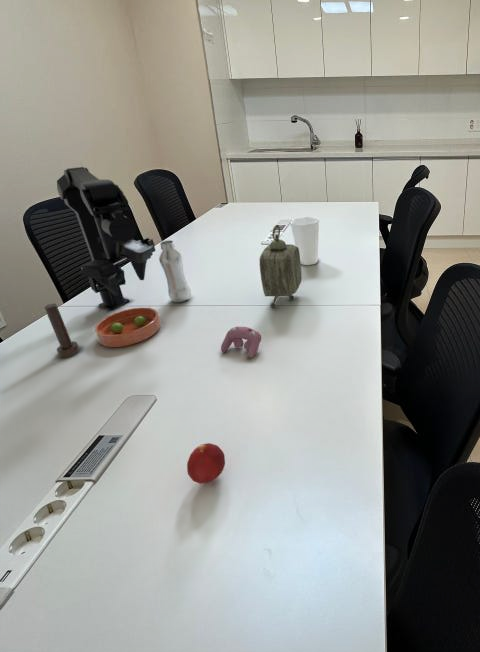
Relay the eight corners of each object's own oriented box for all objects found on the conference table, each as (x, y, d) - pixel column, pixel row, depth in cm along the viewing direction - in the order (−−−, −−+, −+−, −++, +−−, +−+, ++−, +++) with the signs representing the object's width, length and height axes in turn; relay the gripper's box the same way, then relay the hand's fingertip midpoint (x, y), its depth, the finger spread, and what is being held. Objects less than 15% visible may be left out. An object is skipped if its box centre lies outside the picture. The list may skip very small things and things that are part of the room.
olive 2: (133, 327, 111) (130, 318, 110) (142, 322, 113) (140, 313, 112) (139, 329, 110) (137, 320, 108) (149, 324, 112) (146, 315, 111)
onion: (198, 465, 68) (189, 431, 65) (232, 462, 69) (224, 429, 66) (187, 496, 63) (176, 461, 60) (223, 492, 63) (214, 457, 60)
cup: (327, 260, 156) (324, 219, 149) (311, 269, 148) (306, 226, 141) (306, 255, 161) (302, 215, 154) (289, 263, 154) (284, 222, 147)
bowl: (87, 340, 106) (82, 328, 104) (139, 315, 119) (135, 303, 117) (122, 354, 100) (117, 341, 98) (172, 325, 112) (169, 313, 111)
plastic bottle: (184, 305, 124) (169, 246, 116) (165, 303, 125) (149, 245, 117) (196, 296, 129) (183, 239, 121) (178, 294, 131) (164, 238, 123)
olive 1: (109, 334, 108) (106, 325, 107) (120, 328, 110) (117, 319, 109) (116, 336, 106) (113, 327, 105) (126, 331, 109) (123, 322, 108)
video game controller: (261, 356, 100) (265, 329, 100) (251, 359, 96) (254, 331, 96) (230, 349, 103) (233, 323, 103) (218, 352, 99) (222, 324, 99)
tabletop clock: (277, 290, 132) (268, 219, 122) (304, 289, 132) (296, 218, 122) (266, 311, 119) (254, 233, 109) (295, 310, 118) (286, 233, 108)
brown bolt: (55, 355, 100) (35, 308, 95) (73, 346, 104) (55, 300, 98) (65, 359, 98) (45, 311, 93) (83, 350, 102) (65, 303, 96)
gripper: (111, 246, 88) (129, 306, 94) (165, 222, 105) (178, 274, 111) (70, 244, 90) (91, 302, 96) (130, 221, 107) (144, 272, 113)
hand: (129, 287), depth 104 cm, fingers open, 9 cm apart
